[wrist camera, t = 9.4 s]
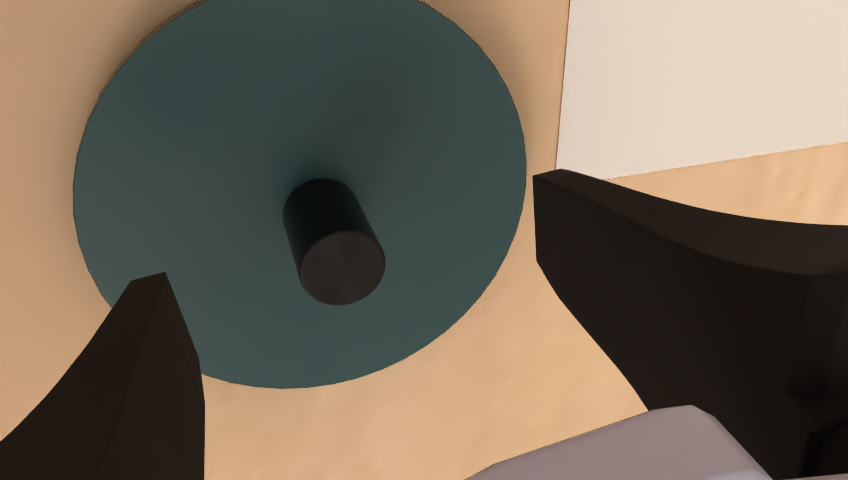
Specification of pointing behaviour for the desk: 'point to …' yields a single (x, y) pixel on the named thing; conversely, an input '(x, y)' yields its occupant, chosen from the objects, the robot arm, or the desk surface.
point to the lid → (303, 182)
